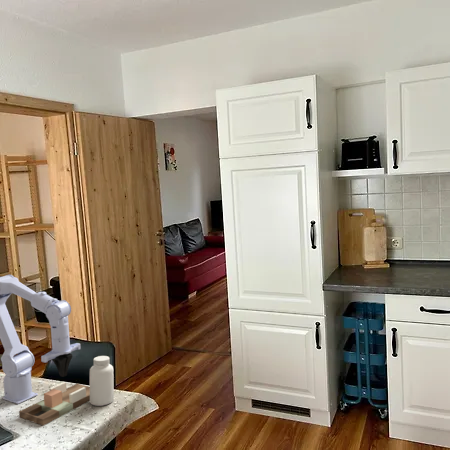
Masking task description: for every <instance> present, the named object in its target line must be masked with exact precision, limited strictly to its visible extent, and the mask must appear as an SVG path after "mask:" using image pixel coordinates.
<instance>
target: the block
mask: <svg viewBox="0 0 450 450" xmlns="http://www.w3.org/2000/svg"><path fill="white" fill-rule="evenodd" d="M43 400H44V405H45V406H48V407H51V408H53V407H55V406H57V405H59V404H61V403H62V391H59V390H56V389H53V390H49V391H46V392H45V393H43Z"/></svg>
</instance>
